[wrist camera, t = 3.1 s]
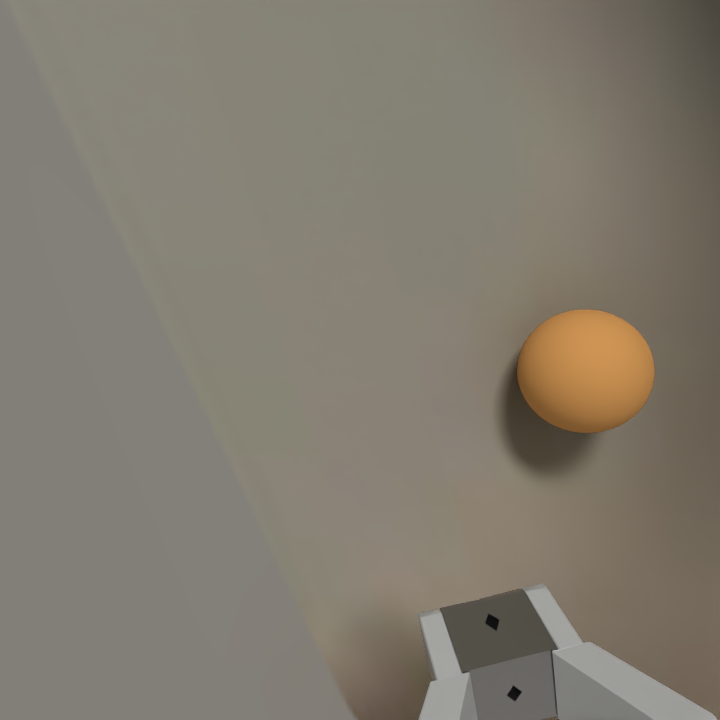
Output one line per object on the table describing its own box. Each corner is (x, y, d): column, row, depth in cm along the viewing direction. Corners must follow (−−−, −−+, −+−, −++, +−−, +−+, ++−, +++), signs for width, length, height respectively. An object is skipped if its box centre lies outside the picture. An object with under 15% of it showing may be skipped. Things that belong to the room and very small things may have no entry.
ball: (493, 313, 24) (549, 340, 18) (601, 289, 24) (689, 309, 19) (504, 414, 26) (558, 469, 20) (604, 392, 26) (686, 438, 21)
